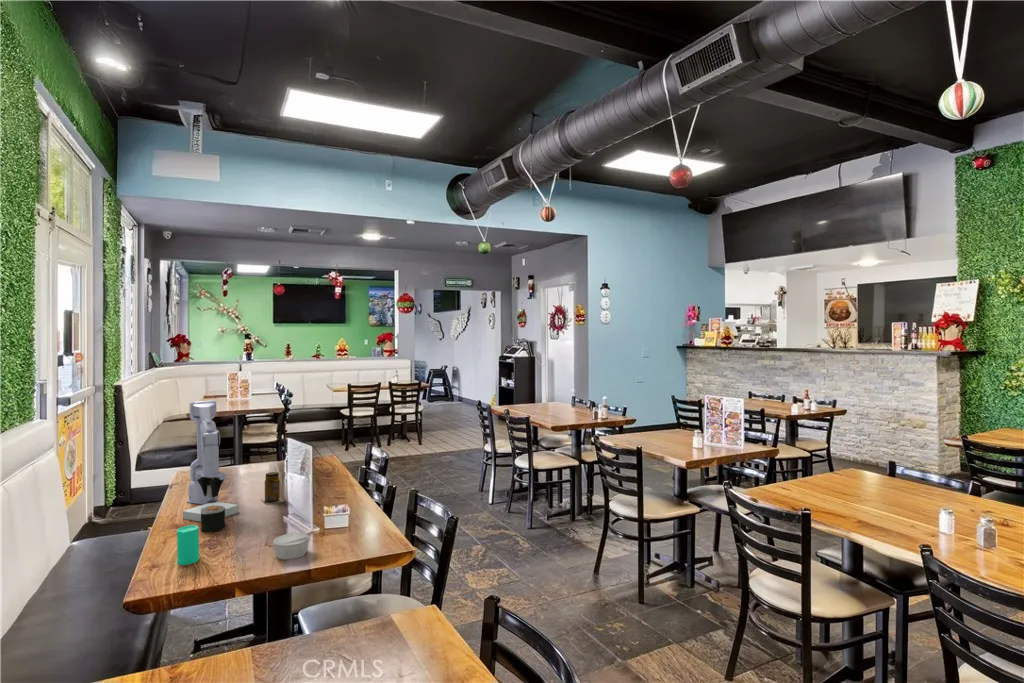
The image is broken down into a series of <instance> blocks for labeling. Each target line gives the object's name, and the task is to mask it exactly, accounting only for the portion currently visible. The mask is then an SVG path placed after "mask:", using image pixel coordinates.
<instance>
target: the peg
mask: <svg viewBox="0 0 1024 683" xmlns="http://www.w3.org/2000/svg"><path fill="white" fill-rule="evenodd" d="M215 502H219V495H218V496H216V497H212V491H211V486H210V484H207V499H206V503H205V504H207V503H215Z"/></svg>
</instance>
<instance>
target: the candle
mask: <svg viewBox="0 0 1024 683" xmlns="http://www.w3.org/2000/svg"><path fill="white" fill-rule="evenodd" d="M199 528H200V527H199V526H198V525H194V524H190V525H189V524H188V525H186V526H181V527H178V528H177V530H176V553H177V554H176V561H177V565H180V566H187V565H191V564H194V563H197V562H198V561H199V560H200V532H199V531H200V530H199Z"/></svg>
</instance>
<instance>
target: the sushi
mask: <svg viewBox="0 0 1024 683" xmlns="http://www.w3.org/2000/svg"><path fill="white" fill-rule="evenodd" d="M225 528H226V517H225V507H223V506H212V507H208V508H207V507H206V508H203V509H202V510H201V522H200V531H201V533H203V534H204V533H207V534H208V533H215V532H219V531H221V530H223V529H225Z"/></svg>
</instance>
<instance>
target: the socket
mask: <svg viewBox="0 0 1024 683" xmlns="http://www.w3.org/2000/svg"><path fill="white" fill-rule="evenodd" d="M212 506H223V507H225V518H226V517H229V516H231V515H235V514H237V513H239V511H240V510H239V508H240V506H239V504H236V503H235V504H234V503H227V502H220V501H218V502H215V503H205V504H200V505H198V506H195V507H191V508H187V509H185V510H183V511H182V519H183V520H186V521H187V520H188V521H194V522H200V523H201V510H202V509H203V508H206V507H207V508H208V507H212Z"/></svg>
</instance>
